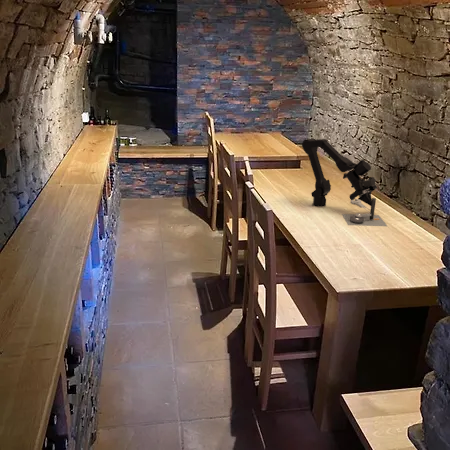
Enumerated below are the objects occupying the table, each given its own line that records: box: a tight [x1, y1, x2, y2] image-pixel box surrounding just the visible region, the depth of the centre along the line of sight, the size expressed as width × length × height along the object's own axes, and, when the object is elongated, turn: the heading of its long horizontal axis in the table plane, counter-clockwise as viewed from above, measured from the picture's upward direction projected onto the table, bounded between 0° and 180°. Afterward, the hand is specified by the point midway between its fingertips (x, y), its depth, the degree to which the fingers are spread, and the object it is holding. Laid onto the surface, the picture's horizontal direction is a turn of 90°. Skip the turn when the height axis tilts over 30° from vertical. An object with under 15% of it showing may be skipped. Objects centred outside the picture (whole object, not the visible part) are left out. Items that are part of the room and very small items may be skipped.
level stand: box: [341, 213, 388, 227], centre depth 257 cm, size 20×17×1 cm
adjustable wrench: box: [350, 198, 371, 213], centre depth 279 cm, size 25×6×2 cm, turn 5°
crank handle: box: [350, 197, 377, 223], centre depth 254 cm, size 8×13×11 cm, turn 136°
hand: (372, 205), depth 256 cm, fingers closed
